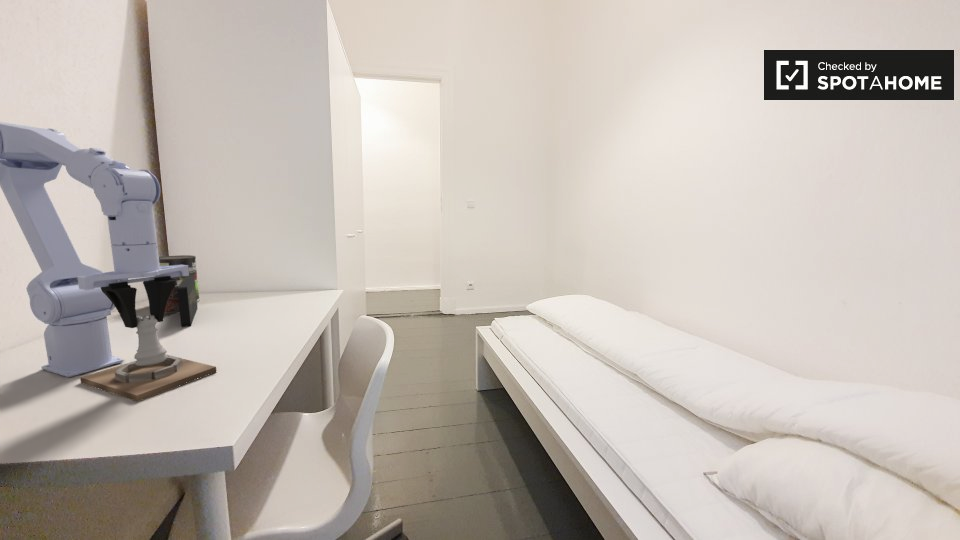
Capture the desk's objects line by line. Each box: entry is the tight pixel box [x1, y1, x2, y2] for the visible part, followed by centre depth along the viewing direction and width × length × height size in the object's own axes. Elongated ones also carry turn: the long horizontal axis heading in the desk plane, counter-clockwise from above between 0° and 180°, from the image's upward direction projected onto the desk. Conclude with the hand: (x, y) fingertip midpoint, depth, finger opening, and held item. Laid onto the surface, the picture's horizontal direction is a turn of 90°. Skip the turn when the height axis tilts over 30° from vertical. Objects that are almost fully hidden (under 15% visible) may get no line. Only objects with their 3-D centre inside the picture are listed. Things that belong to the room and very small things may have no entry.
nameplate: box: [178, 275, 198, 328], centre depth 105 cm, size 21×2×10 cm, turn 32°
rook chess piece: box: [133, 314, 168, 366], centre depth 67 cm, size 4×4×8 cm
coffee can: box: [159, 254, 201, 303], centre depth 120 cm, size 10×10×14 cm
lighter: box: [164, 276, 180, 317], centre depth 109 cm, size 8×3×10 cm, turn 179°
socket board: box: [79, 353, 217, 403], centre depth 68 cm, size 16×12×2 cm
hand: (144, 323), depth 66 cm, fingers closed on rook chess piece, 3 cm apart
